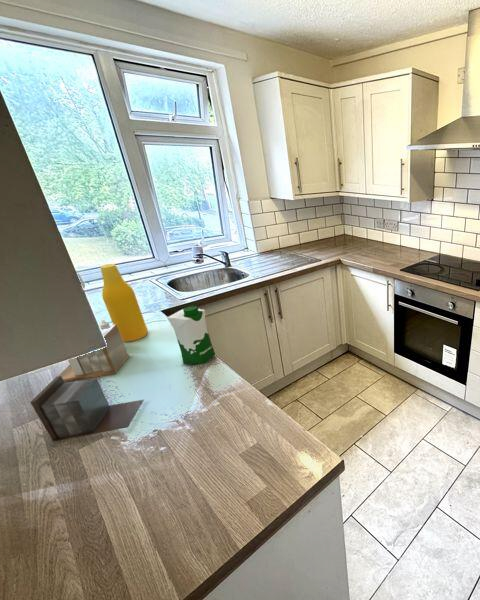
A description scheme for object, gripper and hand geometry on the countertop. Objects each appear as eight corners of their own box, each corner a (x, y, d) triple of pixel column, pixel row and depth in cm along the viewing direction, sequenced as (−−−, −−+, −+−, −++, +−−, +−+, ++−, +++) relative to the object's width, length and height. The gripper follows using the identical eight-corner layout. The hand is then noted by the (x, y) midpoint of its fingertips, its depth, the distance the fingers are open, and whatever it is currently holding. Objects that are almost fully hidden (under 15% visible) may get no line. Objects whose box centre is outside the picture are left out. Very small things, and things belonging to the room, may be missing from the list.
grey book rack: (52, 444, 81) (28, 403, 75) (77, 413, 90) (57, 375, 85) (129, 430, 85) (111, 390, 80) (145, 402, 95) (130, 364, 89)
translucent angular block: (54, 383, 102) (35, 347, 97) (74, 363, 111) (58, 330, 106) (115, 374, 106) (101, 339, 101) (129, 355, 116) (117, 323, 111)
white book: (75, 375, 104) (55, 334, 98) (90, 360, 112) (72, 321, 106) (83, 374, 104) (64, 333, 98) (97, 359, 112) (80, 320, 106)
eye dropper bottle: (104, 354, 116) (91, 325, 112) (110, 346, 121) (98, 317, 116) (119, 352, 118) (107, 322, 113) (124, 344, 123) (113, 315, 118)
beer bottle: (146, 339, 126) (120, 267, 114) (116, 344, 123) (86, 271, 111) (150, 328, 134) (127, 260, 122) (122, 333, 130) (95, 263, 118)
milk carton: (201, 368, 110) (185, 314, 101) (178, 364, 111) (161, 312, 103) (219, 353, 117) (206, 303, 109) (197, 350, 119) (183, 301, 111)
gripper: (59, 261, 103) (76, 301, 109) (-5, 285, 85) (20, 331, 90) (81, 261, 104) (97, 300, 110) (23, 284, 86) (45, 330, 91)
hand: (62, 314), depth 100 cm, fingers open, 8 cm apart
